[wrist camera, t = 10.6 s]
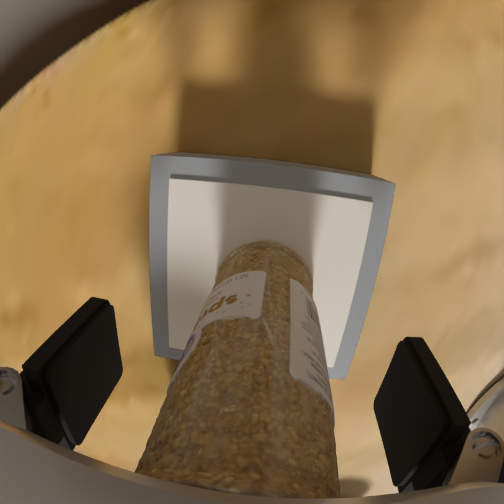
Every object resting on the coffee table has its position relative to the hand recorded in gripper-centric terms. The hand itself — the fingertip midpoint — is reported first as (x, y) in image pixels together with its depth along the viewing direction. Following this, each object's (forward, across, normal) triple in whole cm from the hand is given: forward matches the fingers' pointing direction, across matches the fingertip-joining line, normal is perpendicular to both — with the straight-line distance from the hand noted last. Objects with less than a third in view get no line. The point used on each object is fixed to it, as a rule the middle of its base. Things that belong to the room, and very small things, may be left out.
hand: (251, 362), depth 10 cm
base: (+10, 0, 0) cm, 10 cm away
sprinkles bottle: (+6, 0, 0) cm, 6 cm away
